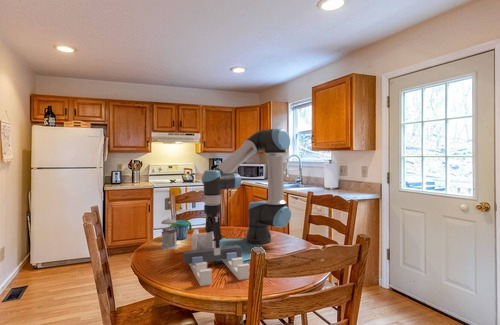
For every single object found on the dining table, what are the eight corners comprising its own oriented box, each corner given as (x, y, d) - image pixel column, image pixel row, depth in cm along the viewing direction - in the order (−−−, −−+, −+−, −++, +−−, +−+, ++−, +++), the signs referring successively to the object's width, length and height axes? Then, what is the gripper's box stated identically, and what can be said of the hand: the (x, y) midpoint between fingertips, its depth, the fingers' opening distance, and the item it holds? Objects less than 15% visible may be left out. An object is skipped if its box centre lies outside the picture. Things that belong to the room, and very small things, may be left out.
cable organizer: (212, 258, 144) (212, 234, 144) (190, 259, 144) (190, 235, 143) (214, 249, 159) (214, 227, 159) (194, 250, 158) (193, 228, 158)
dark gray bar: (238, 254, 143) (238, 245, 143) (241, 256, 139) (241, 247, 139) (183, 261, 134) (183, 251, 133) (184, 264, 130) (184, 253, 130)
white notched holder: (230, 258, 145) (230, 247, 145) (249, 278, 120) (249, 264, 120) (188, 263, 137) (188, 251, 137) (200, 286, 113) (200, 271, 113)
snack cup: (186, 234, 191) (186, 218, 190) (196, 237, 183) (196, 221, 183) (164, 239, 180) (164, 222, 180) (173, 242, 172) (173, 225, 172)
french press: (171, 243, 171) (170, 199, 171) (184, 247, 164) (183, 201, 163) (156, 247, 163) (155, 201, 163) (168, 251, 156) (168, 203, 156)
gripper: (198, 200, 146) (199, 243, 147) (210, 209, 123) (212, 260, 124) (213, 199, 149) (214, 241, 150) (228, 207, 126) (229, 257, 126)
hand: (213, 250), depth 137 cm, fingers open, 13 cm apart
